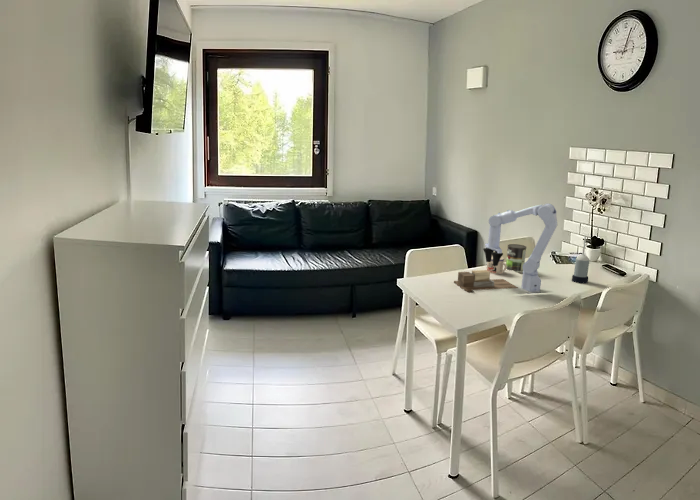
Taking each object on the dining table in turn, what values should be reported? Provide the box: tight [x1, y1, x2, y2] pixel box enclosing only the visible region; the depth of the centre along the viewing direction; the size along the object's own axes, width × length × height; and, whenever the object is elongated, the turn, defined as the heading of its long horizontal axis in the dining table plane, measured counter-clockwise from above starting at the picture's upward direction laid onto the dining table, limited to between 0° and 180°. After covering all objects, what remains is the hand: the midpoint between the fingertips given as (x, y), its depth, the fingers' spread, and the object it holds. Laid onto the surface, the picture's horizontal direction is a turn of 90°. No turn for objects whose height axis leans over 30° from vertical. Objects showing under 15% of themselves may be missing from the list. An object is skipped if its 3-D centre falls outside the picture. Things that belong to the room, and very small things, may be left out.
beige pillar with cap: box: [470, 269, 491, 282], centre depth 276 cm, size 4×8×7 cm, turn 103°
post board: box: [453, 271, 519, 293], centre depth 277 cm, size 16×28×7 cm, turn 103°
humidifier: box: [571, 235, 590, 285], centre depth 289 cm, size 8×8×25 cm
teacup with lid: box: [486, 256, 507, 275], centre depth 300 cm, size 12×9×12 cm
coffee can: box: [505, 243, 527, 273], centre depth 310 cm, size 10×10×14 cm
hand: (491, 263), depth 281 cm, fingers open, 7 cm apart
